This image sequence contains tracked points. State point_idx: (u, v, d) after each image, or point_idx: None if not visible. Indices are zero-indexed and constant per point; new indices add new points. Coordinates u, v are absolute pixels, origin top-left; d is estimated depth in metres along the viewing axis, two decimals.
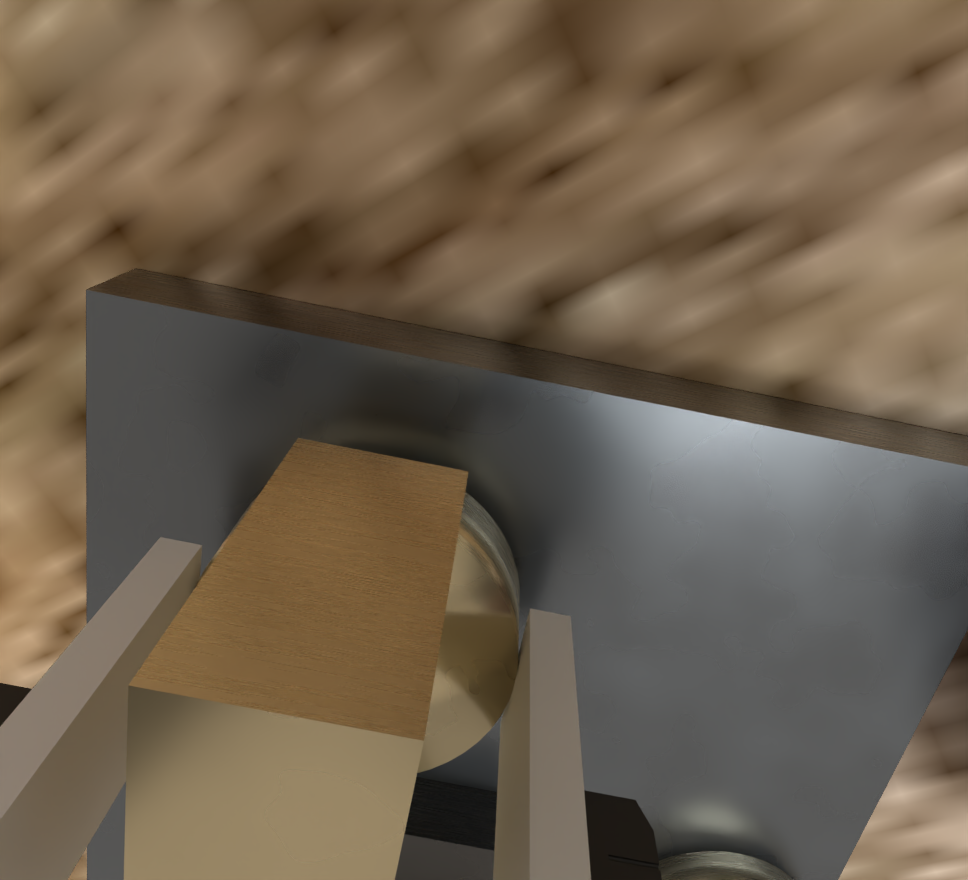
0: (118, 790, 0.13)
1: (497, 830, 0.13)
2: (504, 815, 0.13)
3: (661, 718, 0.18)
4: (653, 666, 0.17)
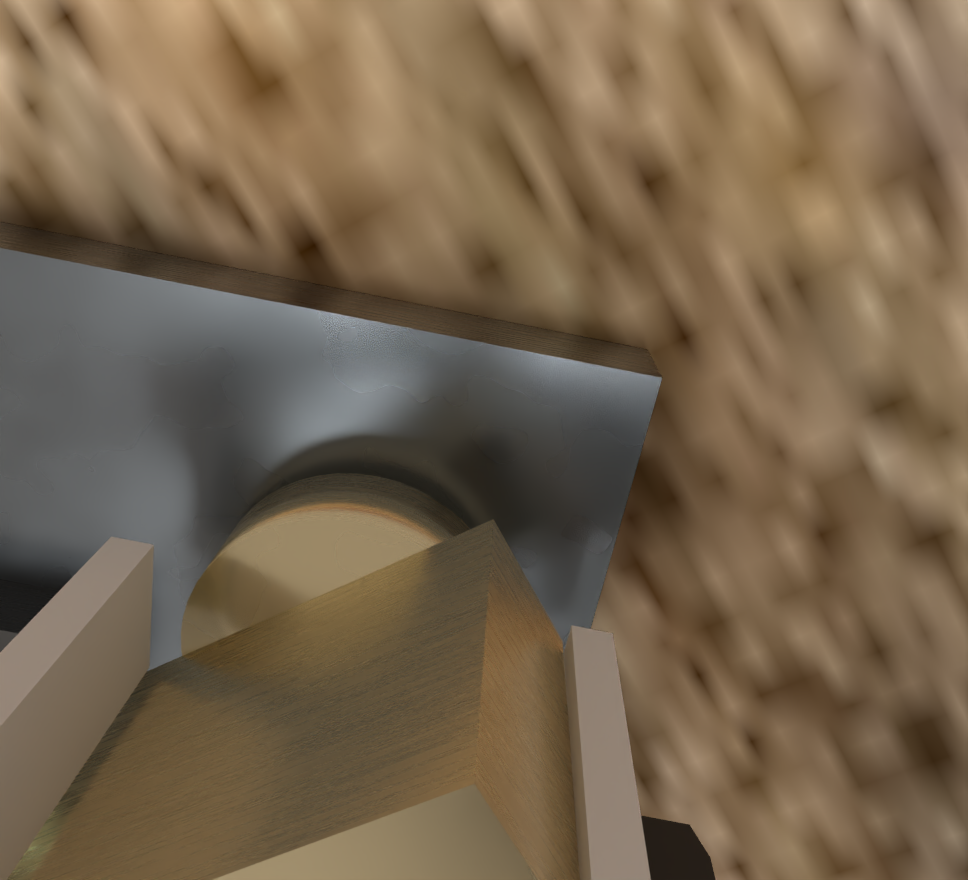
0: (61, 795, 0.12)
1: None
2: None
3: None
4: None
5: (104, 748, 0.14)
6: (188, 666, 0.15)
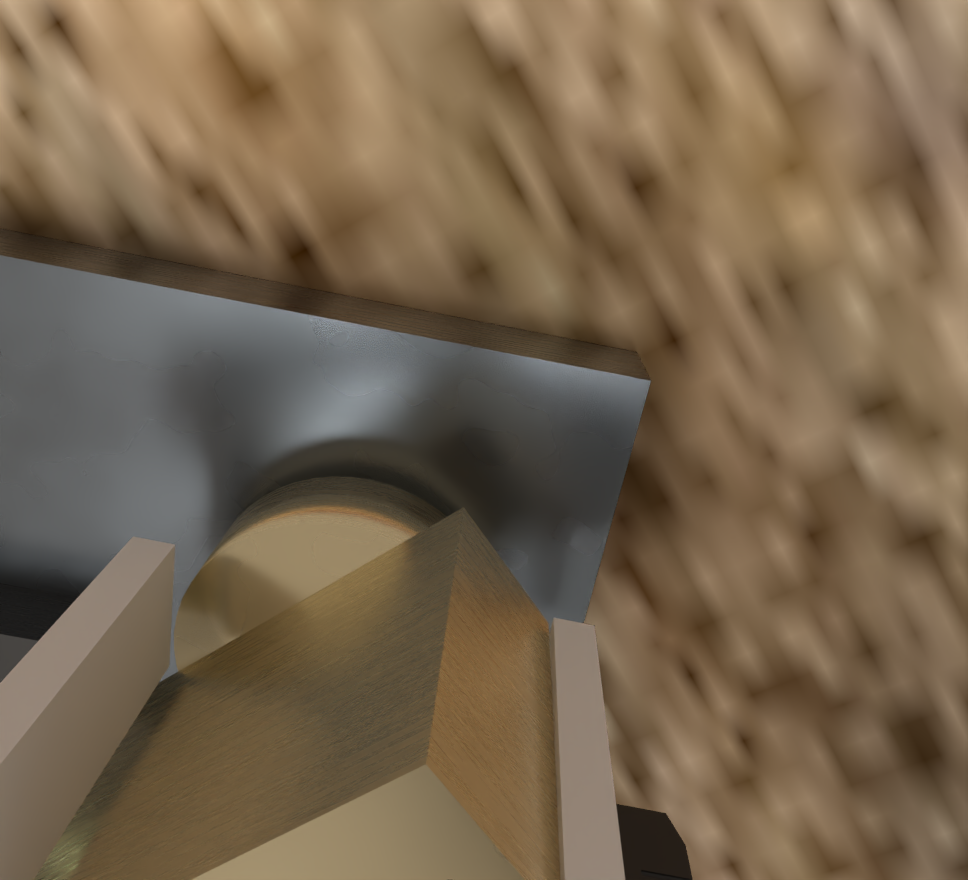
0: (86, 793, 0.12)
1: None
2: None
3: None
4: None
5: None
6: (183, 680, 0.15)
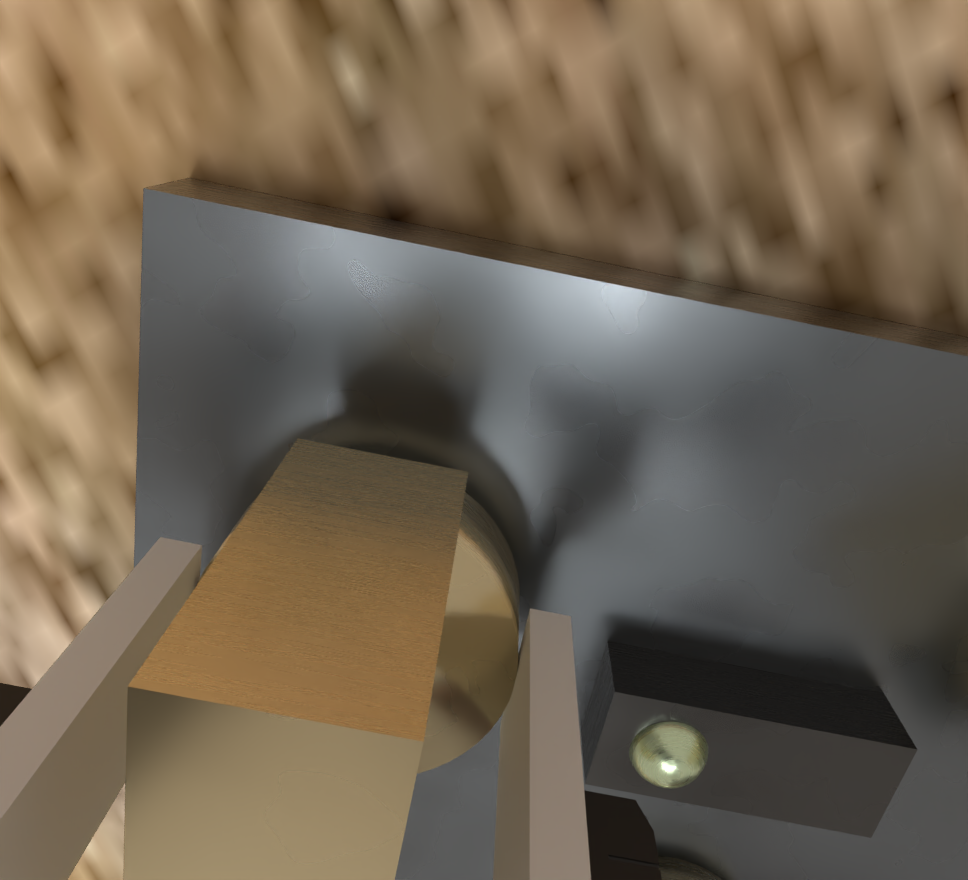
0: (118, 791, 0.13)
1: (497, 830, 0.13)
2: (504, 815, 0.13)
3: None
4: None
5: None
6: None
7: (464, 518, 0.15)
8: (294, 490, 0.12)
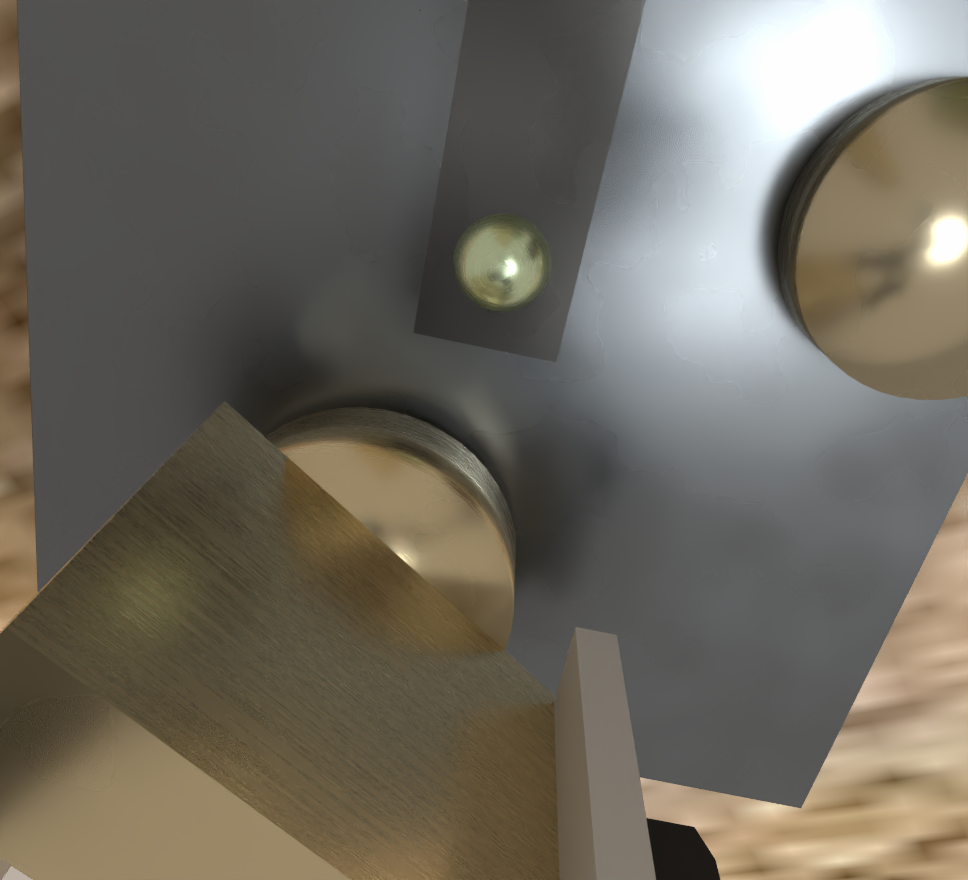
0: None
1: None
2: None
3: None
4: None
5: None
6: None
7: (309, 430, 0.14)
8: None
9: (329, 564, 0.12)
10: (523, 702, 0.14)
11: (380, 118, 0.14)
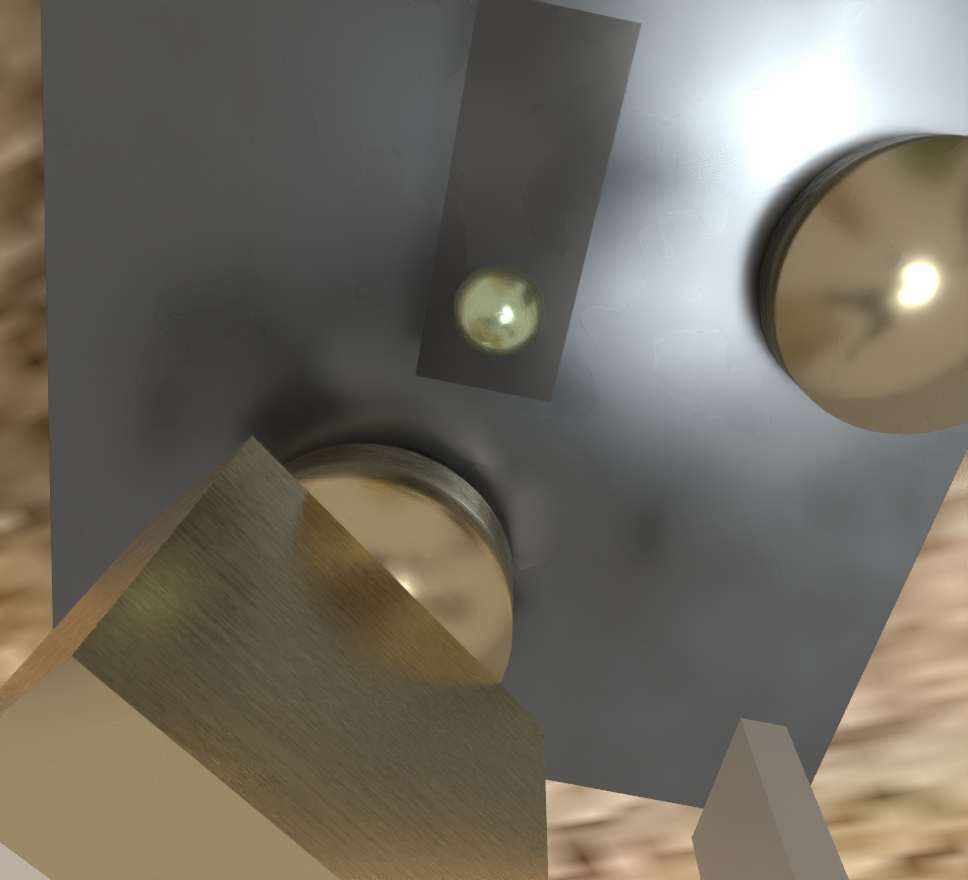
0: None
1: None
2: None
3: None
4: None
5: None
6: None
7: (327, 465, 0.15)
8: (117, 562, 0.13)
9: (345, 597, 0.13)
10: (516, 734, 0.15)
11: (383, 173, 0.14)
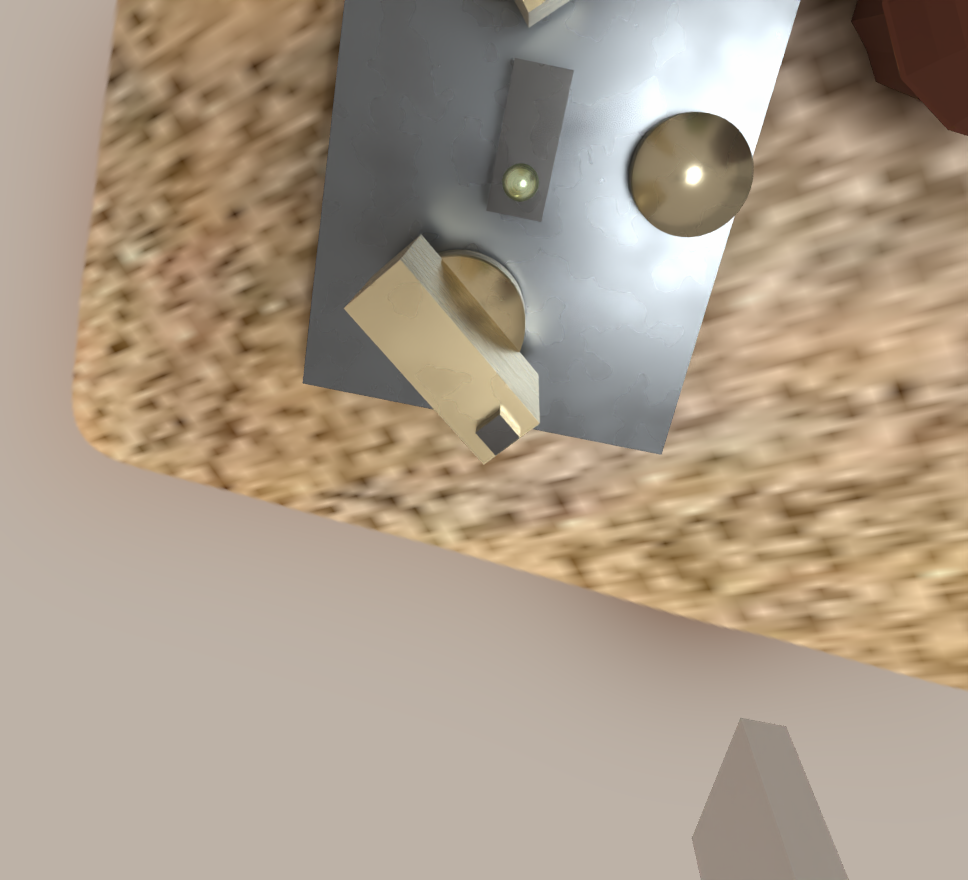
0: None
1: None
2: None
3: (660, 7, 0.33)
4: None
5: (517, 1, 0.29)
6: None
7: (447, 254, 0.36)
8: (372, 277, 0.33)
9: (460, 293, 0.34)
10: (526, 367, 0.35)
11: (472, 128, 0.35)
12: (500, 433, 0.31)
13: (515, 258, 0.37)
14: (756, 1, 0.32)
